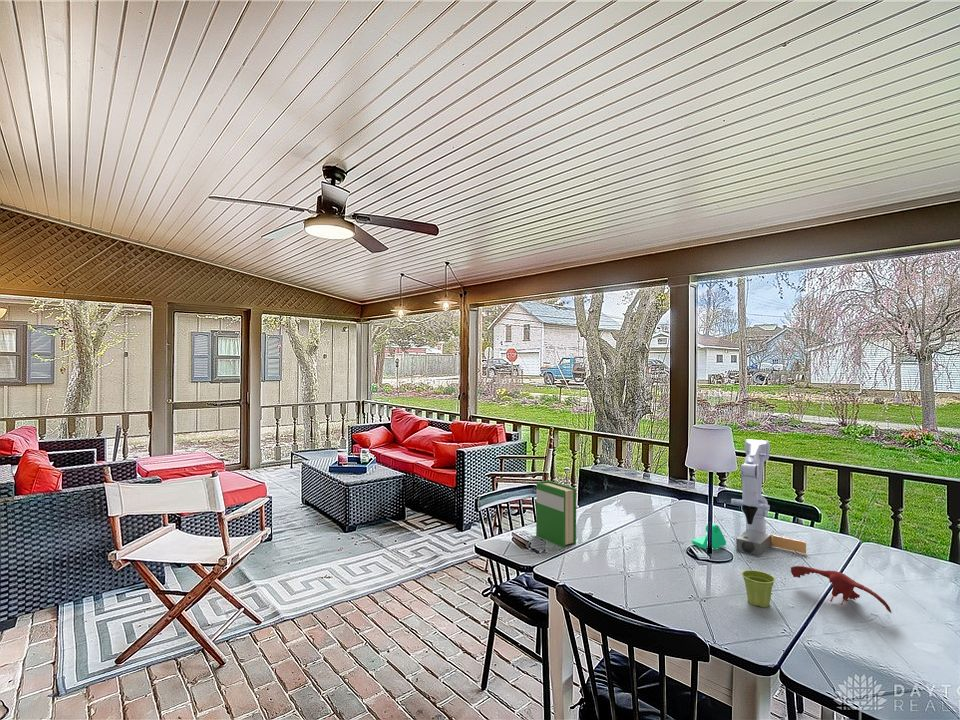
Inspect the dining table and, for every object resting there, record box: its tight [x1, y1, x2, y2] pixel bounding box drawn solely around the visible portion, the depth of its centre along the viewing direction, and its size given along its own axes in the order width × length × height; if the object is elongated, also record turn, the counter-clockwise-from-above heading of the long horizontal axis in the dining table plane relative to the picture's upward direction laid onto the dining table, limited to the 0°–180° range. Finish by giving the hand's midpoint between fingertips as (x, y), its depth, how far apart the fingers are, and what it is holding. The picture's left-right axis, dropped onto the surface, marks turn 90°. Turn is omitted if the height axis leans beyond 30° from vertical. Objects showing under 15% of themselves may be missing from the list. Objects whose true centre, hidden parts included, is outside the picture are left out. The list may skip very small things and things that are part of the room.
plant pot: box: [741, 569, 776, 608], centre depth 154 cm, size 9×9×9 cm
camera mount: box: [691, 523, 727, 550], centre depth 204 cm, size 12×8×10 cm, turn 115°
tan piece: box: [771, 534, 807, 555], centre depth 200 cm, size 13×2×4 cm, turn 47°
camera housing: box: [735, 529, 772, 557], centre depth 202 cm, size 17×9×6 cm, turn 135°
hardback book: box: [535, 479, 577, 549], centre depth 211 cm, size 18×7×24 cm, turn 34°
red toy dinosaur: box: [790, 565, 893, 614], centre depth 155 cm, size 28×9×15 cm
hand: (750, 523), depth 205 cm, fingers closed
